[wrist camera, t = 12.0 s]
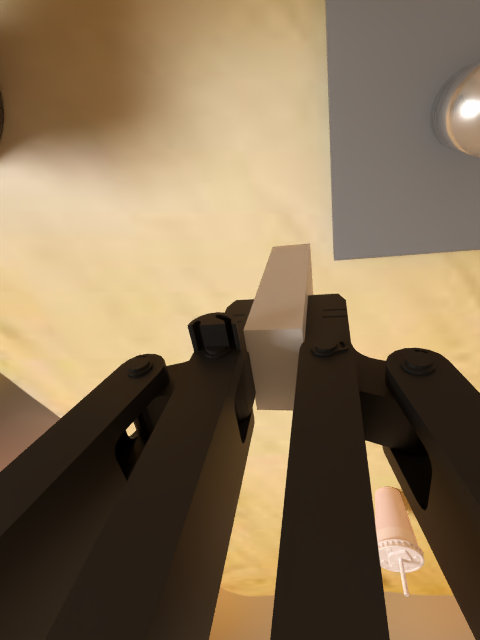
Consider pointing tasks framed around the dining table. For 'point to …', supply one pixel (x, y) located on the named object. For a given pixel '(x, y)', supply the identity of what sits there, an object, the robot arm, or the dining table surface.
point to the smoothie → (396, 535)
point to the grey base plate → (398, 127)
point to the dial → (459, 112)
